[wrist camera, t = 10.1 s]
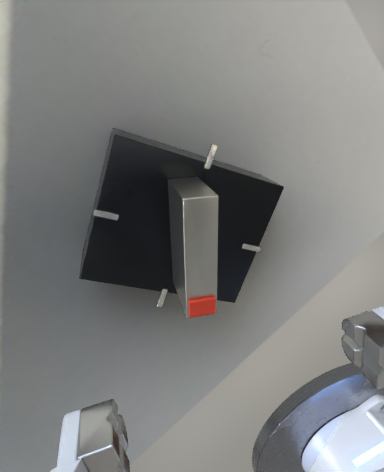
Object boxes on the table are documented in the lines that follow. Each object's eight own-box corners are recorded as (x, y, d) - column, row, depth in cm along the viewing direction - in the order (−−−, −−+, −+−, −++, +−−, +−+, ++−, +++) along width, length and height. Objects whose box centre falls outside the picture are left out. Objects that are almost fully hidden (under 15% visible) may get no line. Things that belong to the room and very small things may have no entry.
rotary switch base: (267, 160, 24) (293, 171, 21) (216, 290, 27) (231, 316, 24) (115, 109, 20) (118, 112, 17) (77, 267, 24) (73, 295, 20)
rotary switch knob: (167, 178, 19) (183, 200, 15) (197, 176, 19) (220, 196, 16) (172, 281, 22) (187, 321, 18) (198, 277, 22) (218, 315, 19)
